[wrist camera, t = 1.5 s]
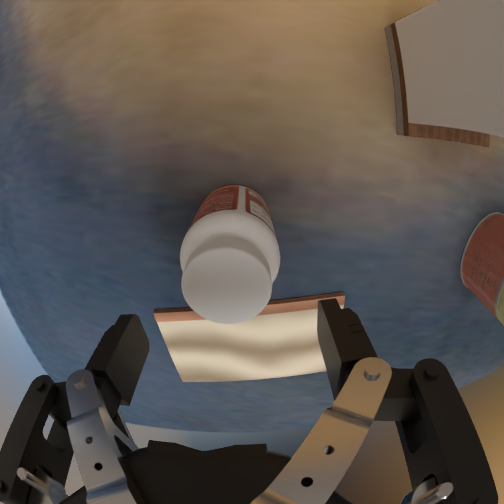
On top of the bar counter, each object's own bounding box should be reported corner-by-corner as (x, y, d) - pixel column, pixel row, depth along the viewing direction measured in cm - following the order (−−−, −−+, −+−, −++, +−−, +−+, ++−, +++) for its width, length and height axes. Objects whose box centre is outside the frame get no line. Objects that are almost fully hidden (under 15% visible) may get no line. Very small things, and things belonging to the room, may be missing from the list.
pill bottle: (194, 243, 25) (163, 323, 15) (205, 177, 22) (170, 222, 12) (261, 256, 25) (269, 342, 15) (278, 191, 23) (302, 247, 13)
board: (154, 309, 28) (153, 313, 27) (342, 291, 27) (344, 295, 27) (183, 378, 33) (182, 382, 33) (334, 365, 32) (335, 369, 32)
